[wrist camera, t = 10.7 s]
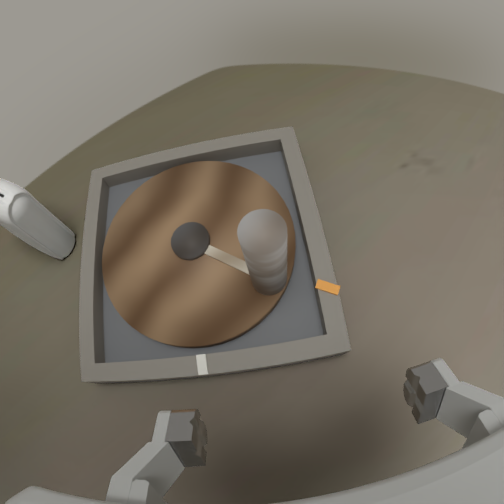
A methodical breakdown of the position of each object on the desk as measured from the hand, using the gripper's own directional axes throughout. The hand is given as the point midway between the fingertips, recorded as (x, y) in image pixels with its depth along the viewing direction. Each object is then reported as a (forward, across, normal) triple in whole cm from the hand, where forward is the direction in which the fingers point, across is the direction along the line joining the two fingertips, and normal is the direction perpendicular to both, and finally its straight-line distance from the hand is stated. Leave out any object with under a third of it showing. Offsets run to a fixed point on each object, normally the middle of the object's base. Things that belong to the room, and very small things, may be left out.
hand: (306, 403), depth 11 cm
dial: (+21, +7, +1) cm, 22 cm away
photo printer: (+27, +27, -2) cm, 38 cm away
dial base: (+22, +7, +2) cm, 23 cm away
